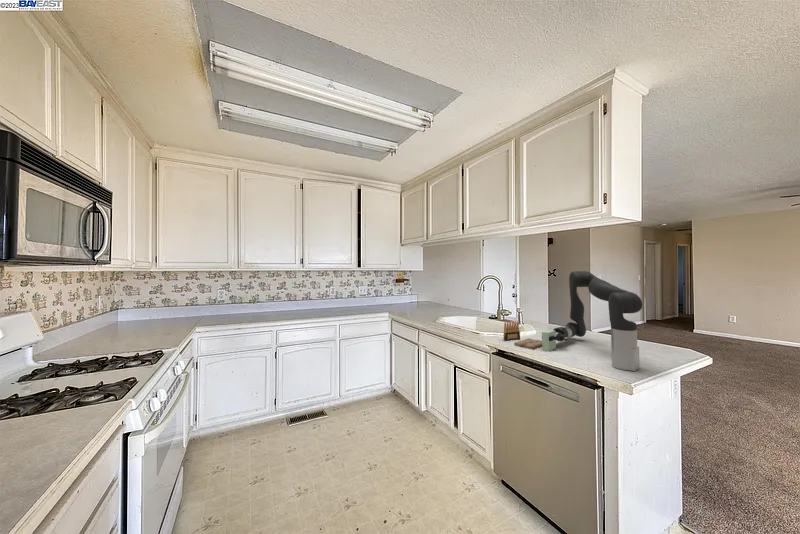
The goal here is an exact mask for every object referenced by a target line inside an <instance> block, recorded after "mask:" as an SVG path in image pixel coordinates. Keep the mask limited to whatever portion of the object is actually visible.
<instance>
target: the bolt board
mask: <svg viewBox="0 0 800 534" xmlns="http://www.w3.org/2000/svg"><path fill="white" fill-rule="evenodd" d="M513 345H514V346H516V347H519V348H524V349H528V350H533V351H535V350H538V349H540V348H541V349H542V340H540V339H539V340H538V339H533V338H526V339H522V340H518V341H516V342H514V343H513ZM537 348H538V349H537Z"/></svg>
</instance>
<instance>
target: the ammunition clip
mask: <svg viewBox="0 0 800 534" xmlns="http://www.w3.org/2000/svg"><path fill="white" fill-rule="evenodd" d="M503 324H504V326H503V342H512V341H521V331H520V325H519V320H512V321H511V320H510V321H508V320H507V321H504V323H503ZM511 340H512V341H511Z"/></svg>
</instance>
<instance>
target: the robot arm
mask: <svg viewBox="0 0 800 534" xmlns="http://www.w3.org/2000/svg"><path fill="white" fill-rule="evenodd" d="M568 284H569V285H568V286H569V297H570V298H569V299H570V311H569V318H570V320H571V322H567V323H566V325H563V326H559V327H556V328H553V329H552V330H554V331H555V333H556V334H555V335H554V336H550V337H549V341H553V340H554V341H555V340H556V341H557V342H563V341H568V340H569V339H571V338H573V337H575V336H577V337H580V338H582V337H584V336H585V335H586V332H587V327H586V324H585V319H584V316H585V305H584V303H583V301H582V300H581V298H580V297H579V295H578V288H587V289H588V291H589V294H591V295H592V296H594V297H595V298H597V299H598V300H601V301H605V302H607V303H608V315H609V322H610V339H611V341H610V342H611V343H610V345H611V346H610V347H611V349H610V350H611V366H612V368H613V367H614V368H615V369H618V370H623V371H630V372H631V371H633V372H636V371H637V370H640V367H641V366H640V347H639V345H638V327H637V326H638V325H637V323H636V322H634V321H631V320H628V319H626V318H625V317H624V314H636V313H639V312H640V311H641V310H642V309H643V301H642V298H641V297H640V296H639V295H638V294H637V293H635V292H632V291H630V290H629V291H628V290H626V289H623V288H620V287H618V286H616V285H614V284H611V283H610V282H608V281H606V280H604V279H601V278H600V277H597V276H596V275H594V274H593V273H591V272H589V271H585V270H579V271H575V270H574V271H571V272H570V273H569V277H568ZM572 321H574V322H572Z"/></svg>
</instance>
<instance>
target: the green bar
mask: <svg viewBox="0 0 800 534" xmlns="http://www.w3.org/2000/svg"><path fill="white" fill-rule="evenodd" d="M555 334H556V333H555V331H554V330H553V329H548V330H545V331H541V341H542V347H541V350H542V351H543V350H544V351H543V352H548V351H549V352H551V351H554V350H556V349H557V343H556V340H555V341H554V340H553V341H549V337H550V336H554V335H555ZM553 349H554V350H553Z"/></svg>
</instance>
